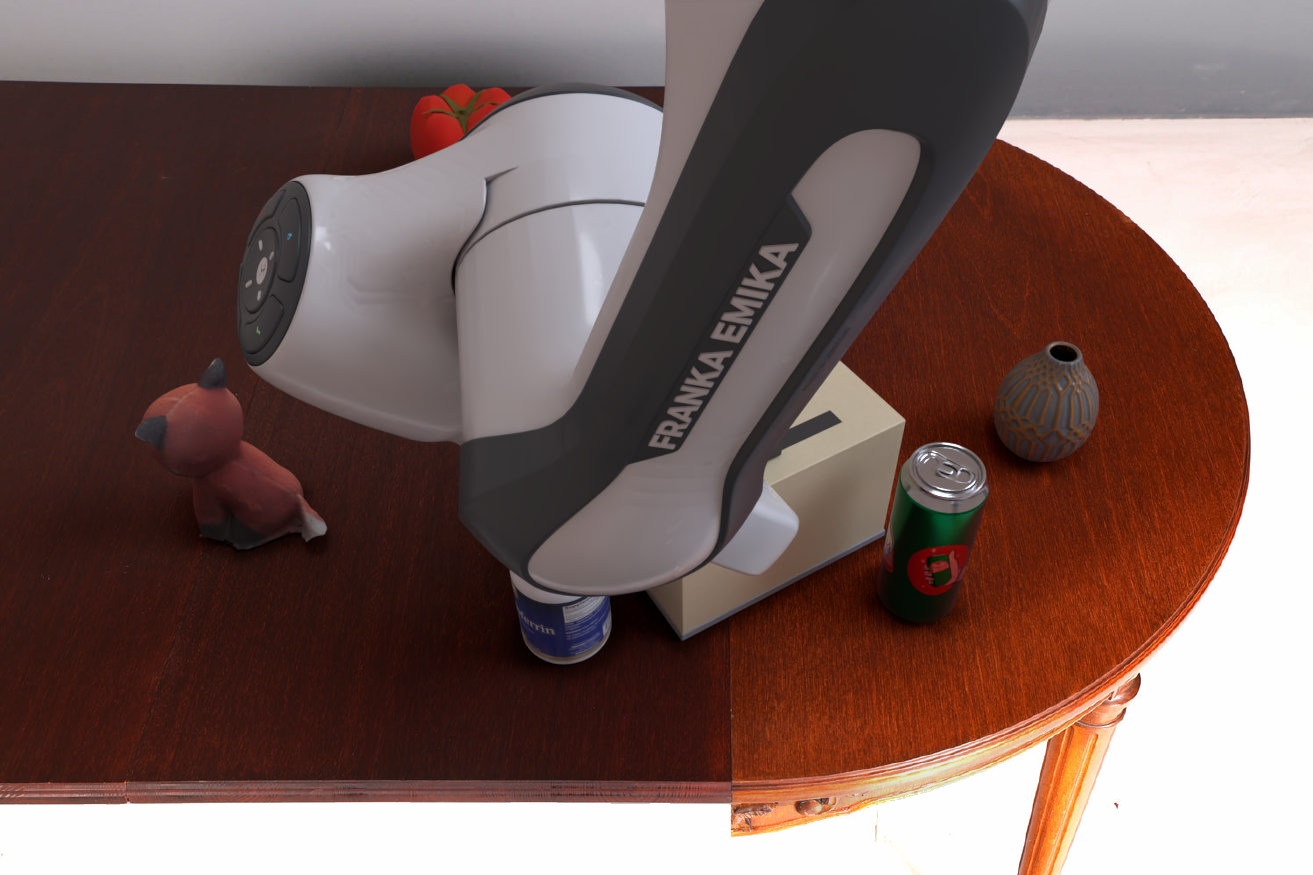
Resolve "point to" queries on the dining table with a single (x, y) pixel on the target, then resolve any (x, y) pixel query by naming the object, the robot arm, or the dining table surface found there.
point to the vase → (1047, 404)
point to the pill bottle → (561, 623)
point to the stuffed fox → (225, 466)
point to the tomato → (450, 117)
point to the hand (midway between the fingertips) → (729, 450)
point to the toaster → (807, 501)
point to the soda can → (932, 531)
